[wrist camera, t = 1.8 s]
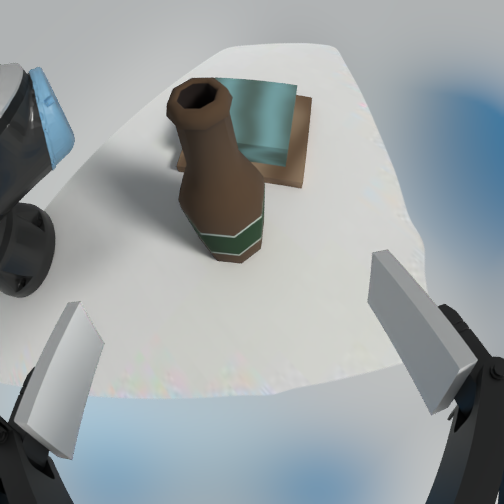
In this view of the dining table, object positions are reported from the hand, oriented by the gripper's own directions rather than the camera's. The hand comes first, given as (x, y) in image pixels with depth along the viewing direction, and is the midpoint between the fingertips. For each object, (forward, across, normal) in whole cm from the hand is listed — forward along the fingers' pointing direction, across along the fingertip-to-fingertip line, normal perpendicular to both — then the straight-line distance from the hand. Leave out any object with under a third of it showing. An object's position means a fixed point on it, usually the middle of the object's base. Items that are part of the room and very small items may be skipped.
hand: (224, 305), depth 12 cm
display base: (+34, +4, +2) cm, 35 cm away
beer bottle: (+24, 0, -9) cm, 25 cm away
